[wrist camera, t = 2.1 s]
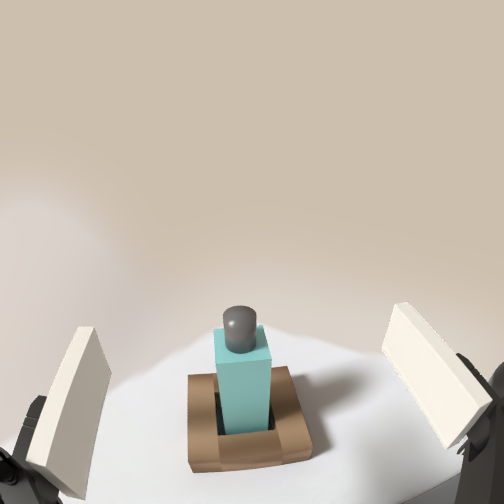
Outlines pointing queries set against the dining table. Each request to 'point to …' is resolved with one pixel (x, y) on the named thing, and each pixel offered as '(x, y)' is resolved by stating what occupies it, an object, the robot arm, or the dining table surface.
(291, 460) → the holster
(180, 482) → the dining table surface
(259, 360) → the plug
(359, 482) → the dining table surface
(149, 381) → the dining table surface
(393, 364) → the robot arm
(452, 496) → the port
